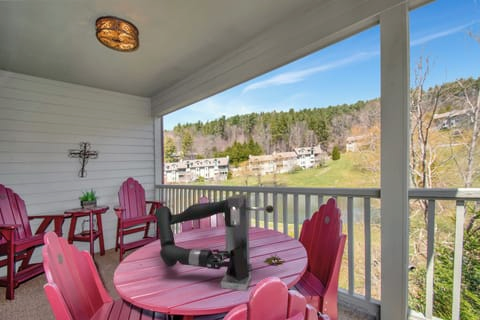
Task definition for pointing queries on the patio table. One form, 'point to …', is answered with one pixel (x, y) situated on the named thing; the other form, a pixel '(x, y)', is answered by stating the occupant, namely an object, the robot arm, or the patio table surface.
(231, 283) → the arbor press
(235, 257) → the phone stand
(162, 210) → the robot arm
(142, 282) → the patio table surface
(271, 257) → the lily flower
